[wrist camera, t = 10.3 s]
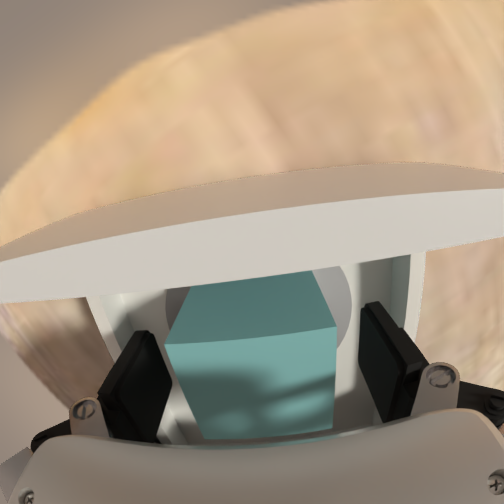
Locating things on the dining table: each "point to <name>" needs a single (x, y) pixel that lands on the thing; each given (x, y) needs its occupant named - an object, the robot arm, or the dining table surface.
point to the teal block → (256, 356)
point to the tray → (261, 258)
